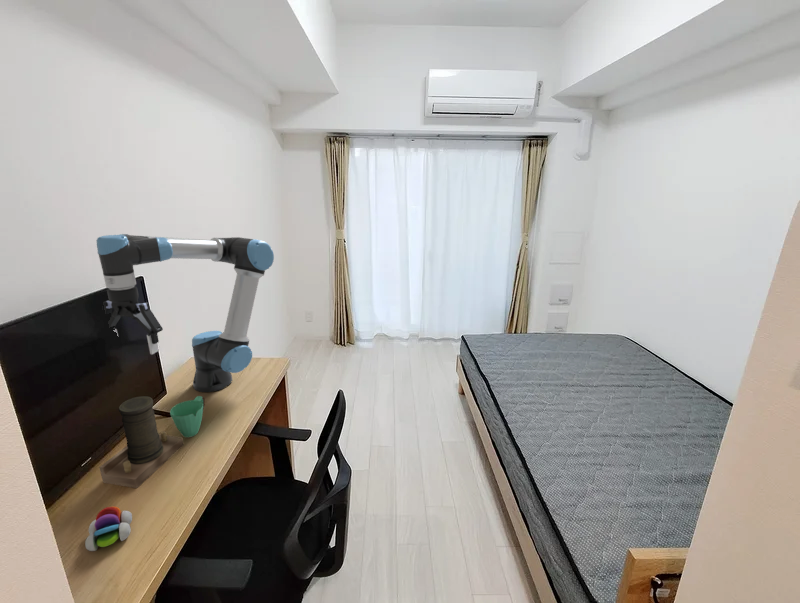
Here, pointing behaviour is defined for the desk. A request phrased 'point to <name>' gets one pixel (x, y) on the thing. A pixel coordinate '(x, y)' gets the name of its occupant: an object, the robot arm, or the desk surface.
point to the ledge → (135, 474)
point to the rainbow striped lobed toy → (108, 528)
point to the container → (140, 430)
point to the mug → (188, 416)
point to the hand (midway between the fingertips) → (135, 350)
